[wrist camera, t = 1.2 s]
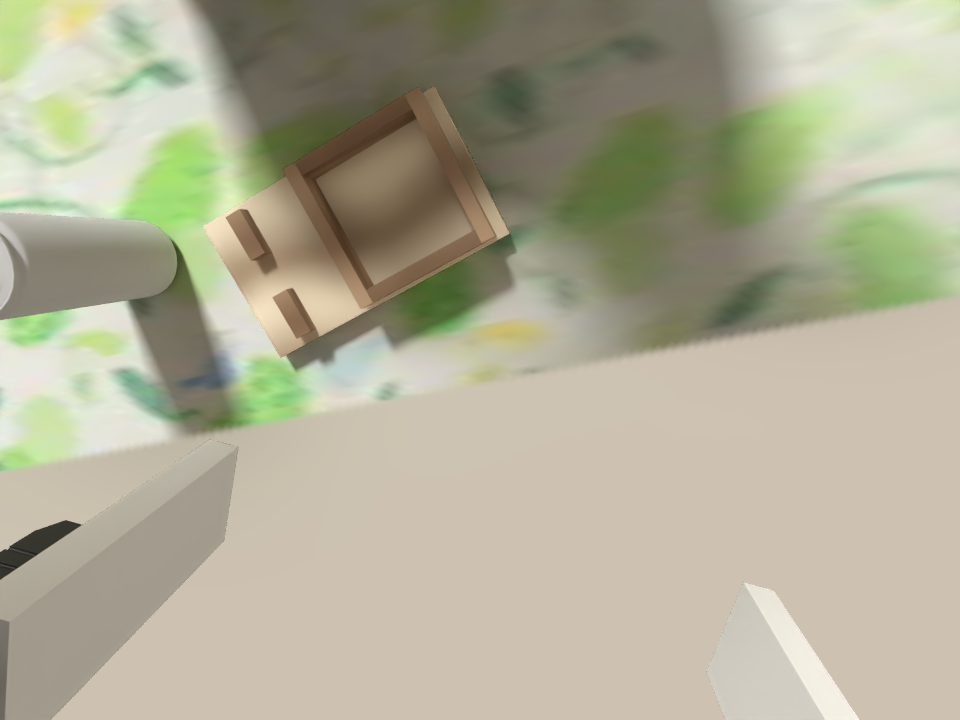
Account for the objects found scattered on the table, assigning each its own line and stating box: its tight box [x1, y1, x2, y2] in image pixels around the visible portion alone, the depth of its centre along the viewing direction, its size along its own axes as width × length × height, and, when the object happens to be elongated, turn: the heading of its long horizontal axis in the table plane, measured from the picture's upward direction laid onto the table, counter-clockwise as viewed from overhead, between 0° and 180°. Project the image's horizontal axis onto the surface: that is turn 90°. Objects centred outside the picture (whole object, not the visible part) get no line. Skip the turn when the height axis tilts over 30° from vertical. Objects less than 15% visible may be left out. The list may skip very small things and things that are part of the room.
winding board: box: [203, 86, 510, 357], centre depth 33 cm, size 9×16×3 cm, turn 118°
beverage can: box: [0, 212, 177, 320], centre depth 31 cm, size 5×5×12 cm
